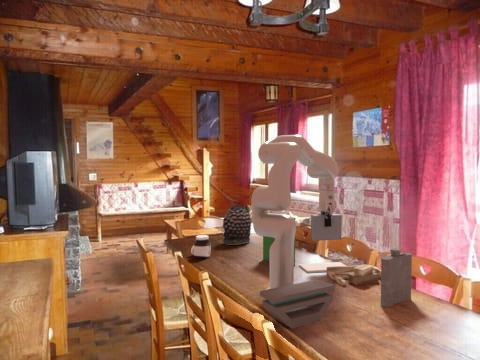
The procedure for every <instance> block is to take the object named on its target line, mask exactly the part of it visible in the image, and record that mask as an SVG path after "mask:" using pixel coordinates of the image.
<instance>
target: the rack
mask: <svg viewBox="0 0 480 360" xmlns="http://www.w3.org/2000/svg"><path fill="white" fill-rule="evenodd" d="M361 265H362V264H358V265H346V266H338V267H327V272H326V275H327V276H328V277H329V278H330V279H332V280H334V281H335V282H336V283H338V284H339V285H340V286H342V287H345V286H347V280H348V274H351V273H354V268H355V267H358V266H361ZM370 265H371V266H373V272H375V273H377V274H379V276H378V279H380V280H381V268H379V267H377V266H375V265H373V264H370Z"/></svg>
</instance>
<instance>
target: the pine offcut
mask: <svg viewBox="0 0 480 360" xmlns="http://www.w3.org/2000/svg"><path fill="white" fill-rule="evenodd" d="M360 265H361V266H358V267H355V268H354V275H356V276H361V277H363V276H366V275H368V274H370V273H373V266H374V265H373V266H371V265H372V264H367V263H365V264H364V263H363V264H360Z"/></svg>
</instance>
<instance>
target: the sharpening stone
mask: <svg viewBox="0 0 480 360" xmlns="http://www.w3.org/2000/svg"><path fill="white" fill-rule="evenodd" d="M335 288H336V287H335V284H333V283H330V282H328V281H325V280H322V279H319V278H317V279H312V280H308V281H303V282H298V283H294V284H292V285H288V286H283V287H278V288H273V289H268V290H266V289H264V290H260V291H259V297H261V298H263V299H264V300H262V308H263V309H264V310H265V311H267V312H268V313H269V314H270V315H271V316H272V317H273V318H275V320H277V321H278V322H280V323H281V324H283V325H285V326H287V327H288V328H290V329H294V328H298V327H302V326H306V325H309V324H312V323H316V322H319V321H320V320H321V319H322V317H323V316H324V314H325V313H326V311H327V310H328V308H329V307H330V306H331V304H332V303H333V295H332V294H331V293H328V292H330V291H335Z"/></svg>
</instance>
